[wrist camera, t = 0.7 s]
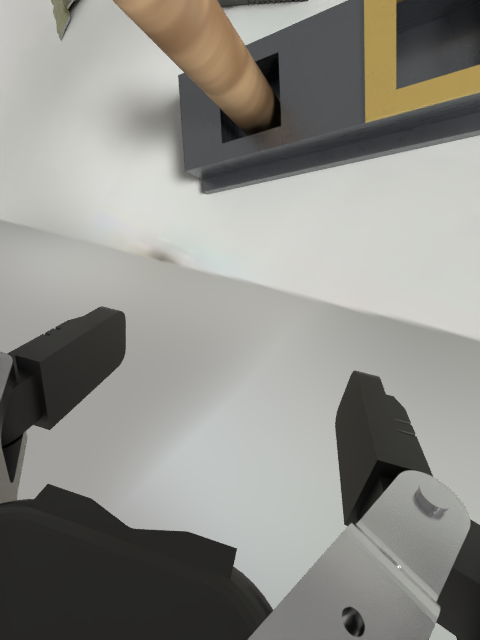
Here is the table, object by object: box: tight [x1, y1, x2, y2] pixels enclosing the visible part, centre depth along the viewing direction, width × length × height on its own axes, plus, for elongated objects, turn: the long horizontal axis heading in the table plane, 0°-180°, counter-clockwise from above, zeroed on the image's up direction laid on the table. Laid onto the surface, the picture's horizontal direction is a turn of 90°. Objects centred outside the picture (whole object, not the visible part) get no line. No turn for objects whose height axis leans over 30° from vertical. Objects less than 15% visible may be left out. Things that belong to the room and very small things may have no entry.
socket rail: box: [178, 0, 480, 194], centre depth 25 cm, size 11×28×4 cm, turn 94°
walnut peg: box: [113, 0, 281, 136], centre depth 22 cm, size 4×4×16 cm
